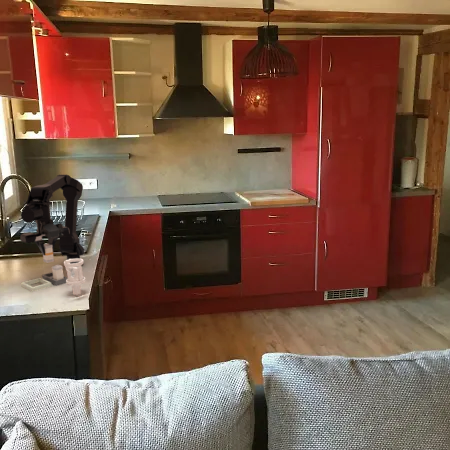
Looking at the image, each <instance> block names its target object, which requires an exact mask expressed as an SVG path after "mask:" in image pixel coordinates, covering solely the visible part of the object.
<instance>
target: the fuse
mask: <svg viewBox="0 0 450 450" xmlns="http://www.w3.org/2000/svg"><path fill="white" fill-rule="evenodd" d="M63 266H64V265H60V264H56V265H52V266H51V270H52V271H51V272H53V279H54V280H60V279H64V277H65V276H64V271H63V269H64V268H63Z"/></svg>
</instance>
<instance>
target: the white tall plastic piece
mask: <svg viewBox="0 0 450 450" xmlns="http://www.w3.org/2000/svg"><path fill="white" fill-rule="evenodd" d="M70 262H78V263H73V264H70ZM83 264H85V263H84V259H83V258H80V259H79V258H76V259H69V260H67V259H65V260H64V261H63V266H64V267H65V270H66V273H67V274H66V275H67V278H68V279H67V280H66V283H65V284H66V285H68V286H71V288H72V295H75V298H80V297H82V288H81V287H82V286H81V285H82V284H85V283H86V277H85V276H84V275H83V266H82V265H83Z"/></svg>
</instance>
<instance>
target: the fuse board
mask: <svg viewBox="0 0 450 450" xmlns="http://www.w3.org/2000/svg"><path fill="white" fill-rule="evenodd" d="M41 278H42V279H44V280H47V281H49V282H51V284H52V285H54V286H56V287H58V286H62V285H64V284H66V280H67V279H68V276H67V277H66V276H64V279H60V280H54V279H53V271H51V272H48V273H45V274H42V276H41Z"/></svg>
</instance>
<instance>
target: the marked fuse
mask: <svg viewBox="0 0 450 450" xmlns="http://www.w3.org/2000/svg"><path fill="white" fill-rule="evenodd" d="M52 247H53V246H52V245H51V244H49V243H44V249H45V255H43V254H42V261H43V263H46V264H48V263H52V262H55V259H54V250H53V249H52Z"/></svg>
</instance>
